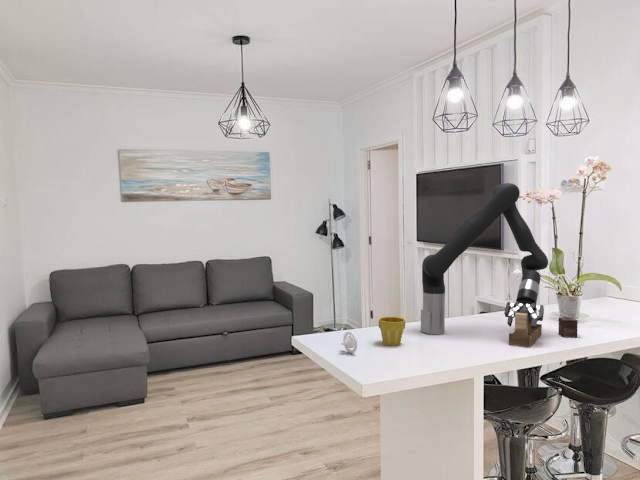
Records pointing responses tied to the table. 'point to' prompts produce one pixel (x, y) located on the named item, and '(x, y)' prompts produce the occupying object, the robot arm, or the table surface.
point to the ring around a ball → (350, 342)
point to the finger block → (521, 323)
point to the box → (568, 327)
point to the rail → (526, 339)
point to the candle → (515, 284)
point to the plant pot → (391, 330)
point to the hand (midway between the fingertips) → (520, 326)
